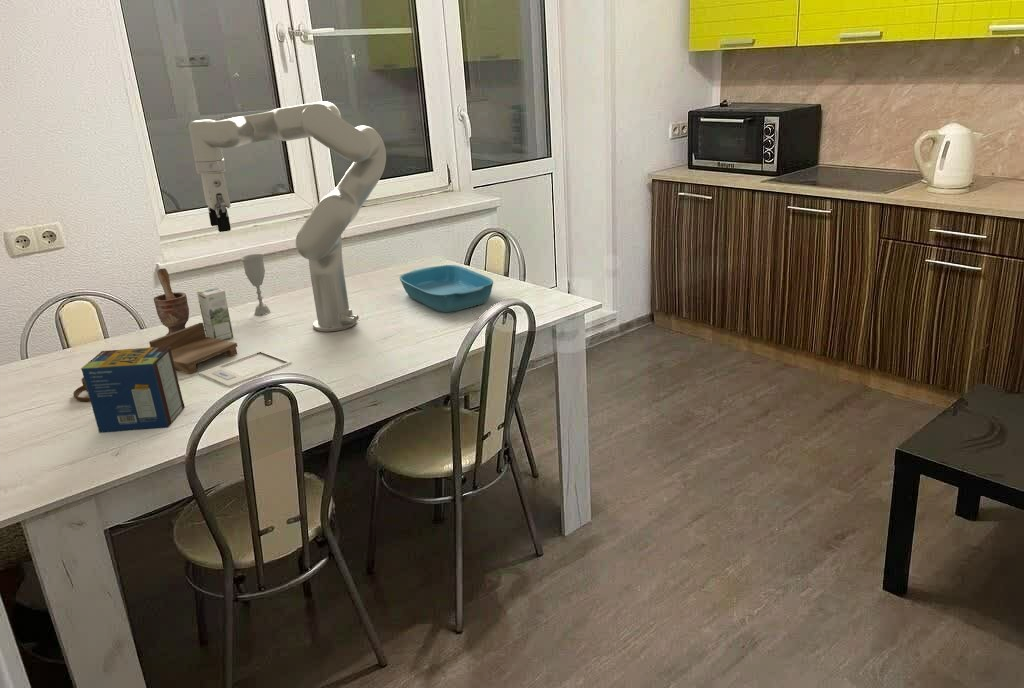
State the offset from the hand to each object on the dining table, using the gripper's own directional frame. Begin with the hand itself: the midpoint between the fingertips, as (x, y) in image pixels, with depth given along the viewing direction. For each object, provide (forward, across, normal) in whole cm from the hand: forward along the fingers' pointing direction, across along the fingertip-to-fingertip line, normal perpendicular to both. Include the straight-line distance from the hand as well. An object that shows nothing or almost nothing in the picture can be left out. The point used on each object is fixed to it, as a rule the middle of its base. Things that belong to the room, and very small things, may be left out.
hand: (220, 228), depth 216 cm
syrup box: (+31, -5, +6) cm, 32 cm away
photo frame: (+31, -34, +6) cm, 46 cm away
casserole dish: (+29, -16, -62) cm, 70 cm away
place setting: (+32, -24, +35) cm, 53 cm away
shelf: (+31, -18, +15) cm, 39 cm away
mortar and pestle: (+31, +5, +16) cm, 36 cm away
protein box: (+31, -49, +33) cm, 67 cm away
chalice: (+31, +12, -10) cm, 34 cm away
